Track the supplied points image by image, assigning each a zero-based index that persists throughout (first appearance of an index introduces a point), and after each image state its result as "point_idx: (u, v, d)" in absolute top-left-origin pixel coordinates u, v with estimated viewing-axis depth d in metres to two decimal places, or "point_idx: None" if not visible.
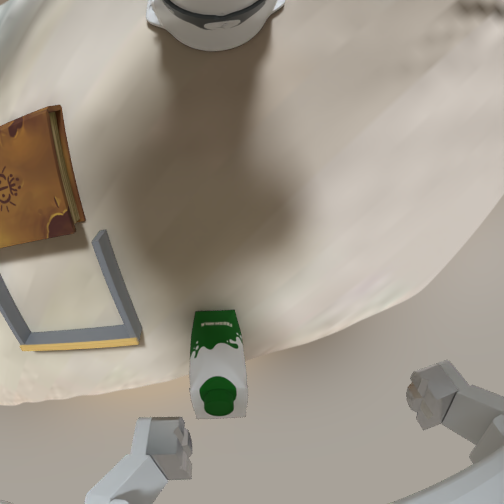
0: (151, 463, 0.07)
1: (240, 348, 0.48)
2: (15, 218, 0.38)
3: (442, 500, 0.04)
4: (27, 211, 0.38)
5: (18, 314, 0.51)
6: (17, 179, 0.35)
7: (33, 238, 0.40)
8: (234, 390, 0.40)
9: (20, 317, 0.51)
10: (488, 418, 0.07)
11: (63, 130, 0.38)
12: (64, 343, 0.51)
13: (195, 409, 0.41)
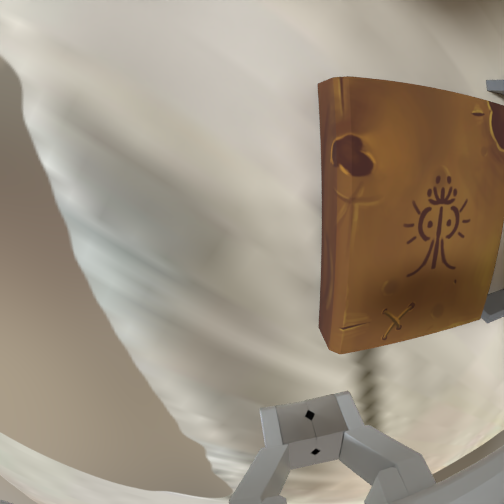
0: (287, 452, 0.08)
1: None
2: (479, 209, 0.23)
3: (442, 500, 0.04)
4: (479, 177, 0.22)
5: None
6: (438, 180, 0.22)
7: None
8: None
9: None
10: (382, 466, 0.07)
11: None
12: None
13: None
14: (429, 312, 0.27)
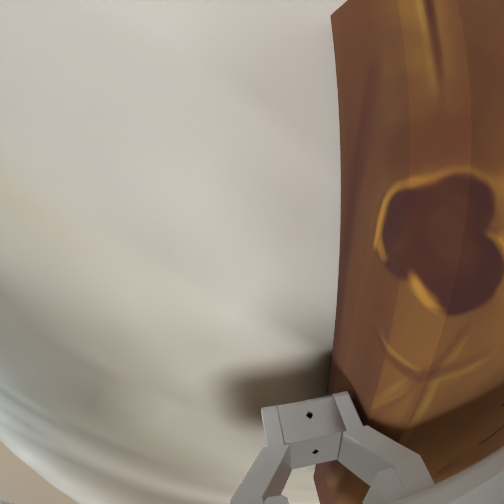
0: (288, 452, 0.08)
1: None
2: None
3: (442, 500, 0.04)
4: None
5: None
6: None
7: None
8: None
9: None
10: (380, 467, 0.07)
11: None
12: None
13: None
14: None
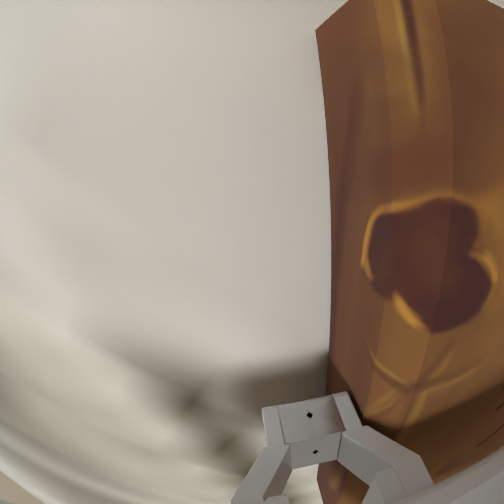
0: (289, 452, 0.08)
1: None
2: None
3: (442, 500, 0.04)
4: None
5: None
6: None
7: None
8: None
9: None
10: (379, 467, 0.07)
11: None
12: None
13: None
14: None
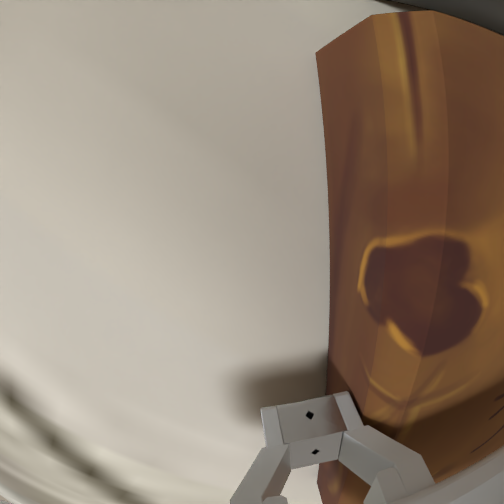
0: (288, 452, 0.08)
1: None
2: None
3: (442, 500, 0.04)
4: None
5: None
6: None
7: None
8: None
9: None
10: (381, 466, 0.07)
11: None
12: None
13: None
14: None
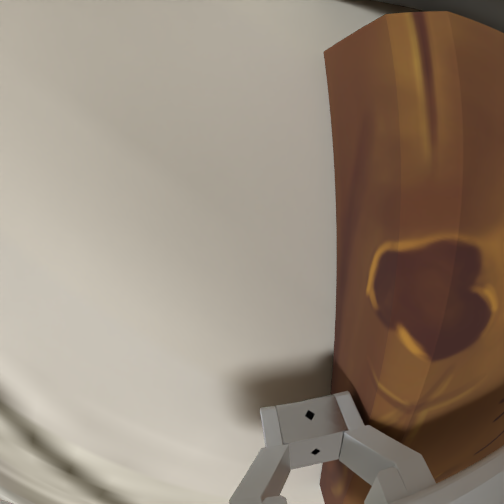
0: (287, 452, 0.08)
1: None
2: None
3: (442, 500, 0.04)
4: None
5: None
6: None
7: None
8: None
9: None
10: (382, 466, 0.07)
11: None
12: None
13: None
14: None
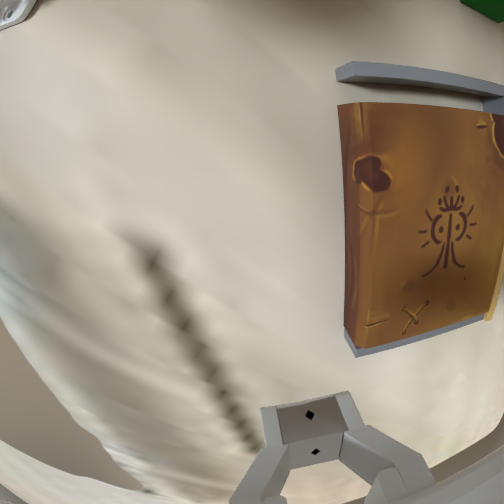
0: (287, 452, 0.08)
1: None
2: (485, 213, 0.25)
3: (442, 500, 0.04)
4: (483, 184, 0.24)
5: None
6: (447, 190, 0.24)
7: None
8: None
9: None
10: (382, 466, 0.07)
11: None
12: None
13: None
14: (442, 307, 0.29)
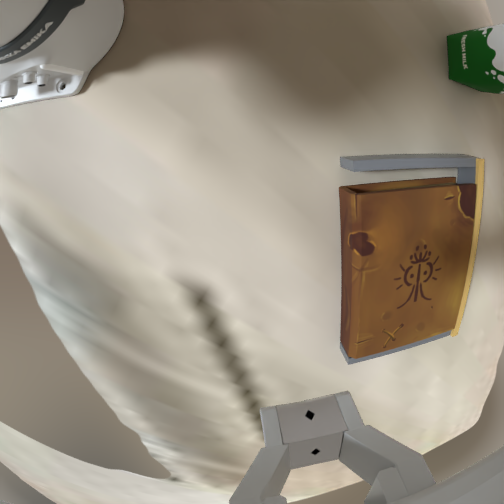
0: (287, 452, 0.08)
1: (491, 26, 0.21)
2: (448, 260, 0.36)
3: (442, 500, 0.04)
4: (447, 240, 0.35)
5: None
6: (417, 248, 0.35)
7: (469, 240, 0.36)
8: None
9: None
10: (382, 466, 0.07)
11: (368, 185, 0.37)
12: None
13: None
14: (414, 328, 0.40)
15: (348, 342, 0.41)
